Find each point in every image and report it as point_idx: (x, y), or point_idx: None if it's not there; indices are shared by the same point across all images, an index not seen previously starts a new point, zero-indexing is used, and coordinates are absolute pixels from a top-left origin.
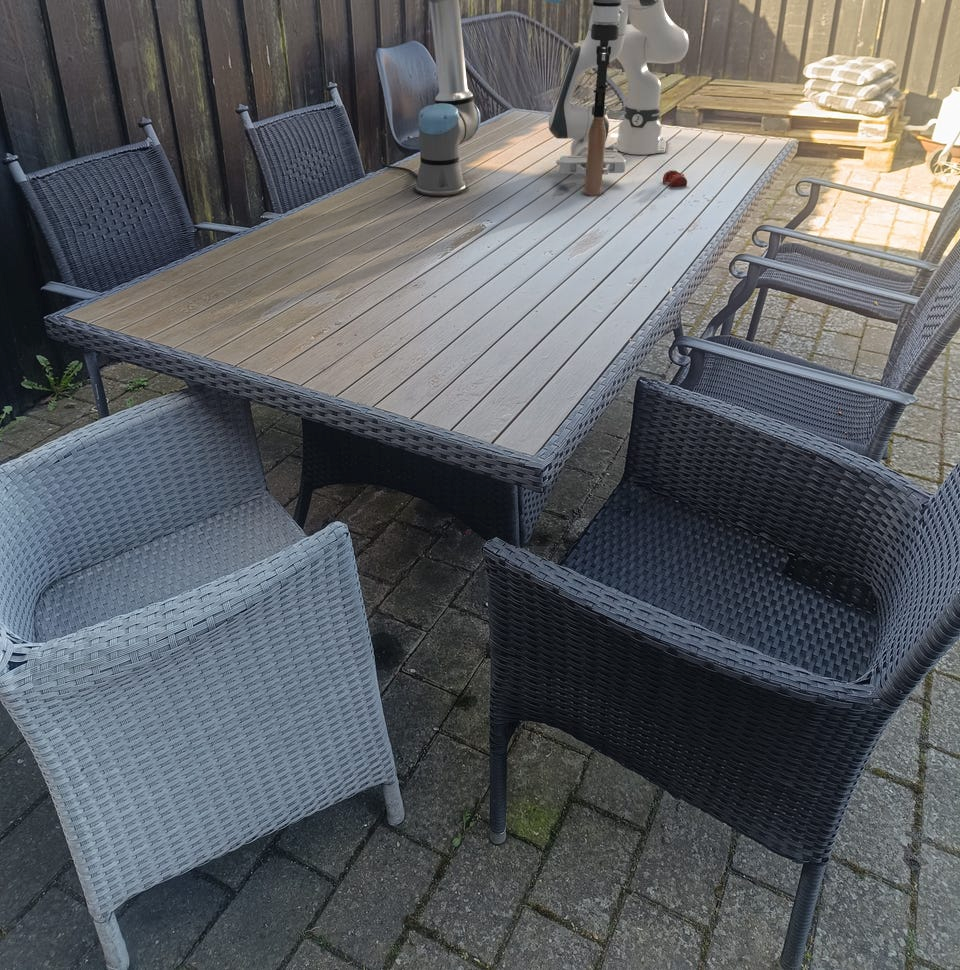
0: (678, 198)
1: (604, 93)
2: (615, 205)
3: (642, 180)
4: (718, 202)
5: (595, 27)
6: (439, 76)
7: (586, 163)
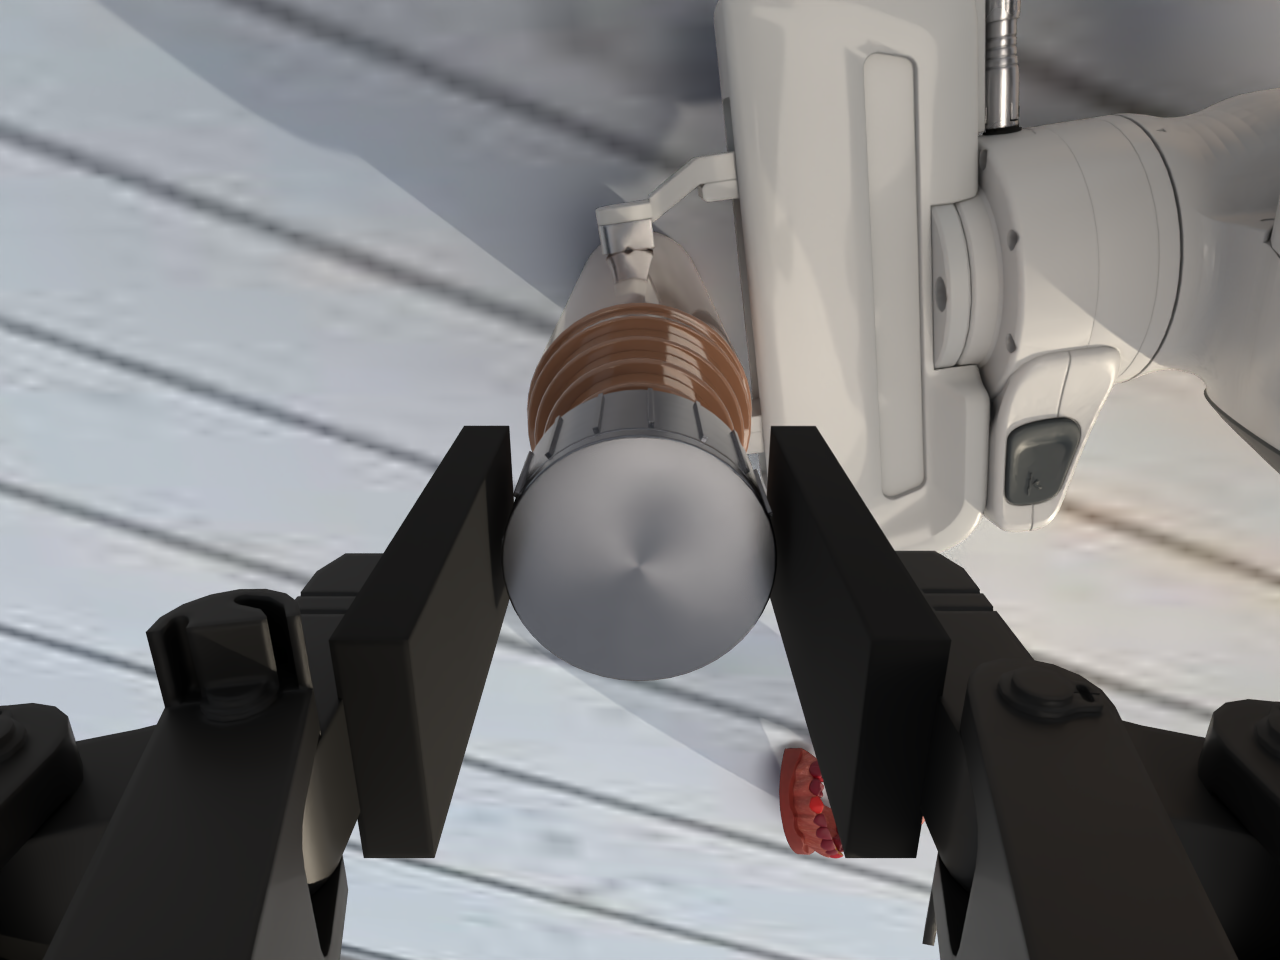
0: (598, 773)
1: (373, 821)
2: (395, 442)
3: None
4: (558, 928)
5: None
6: None
7: (624, 256)
